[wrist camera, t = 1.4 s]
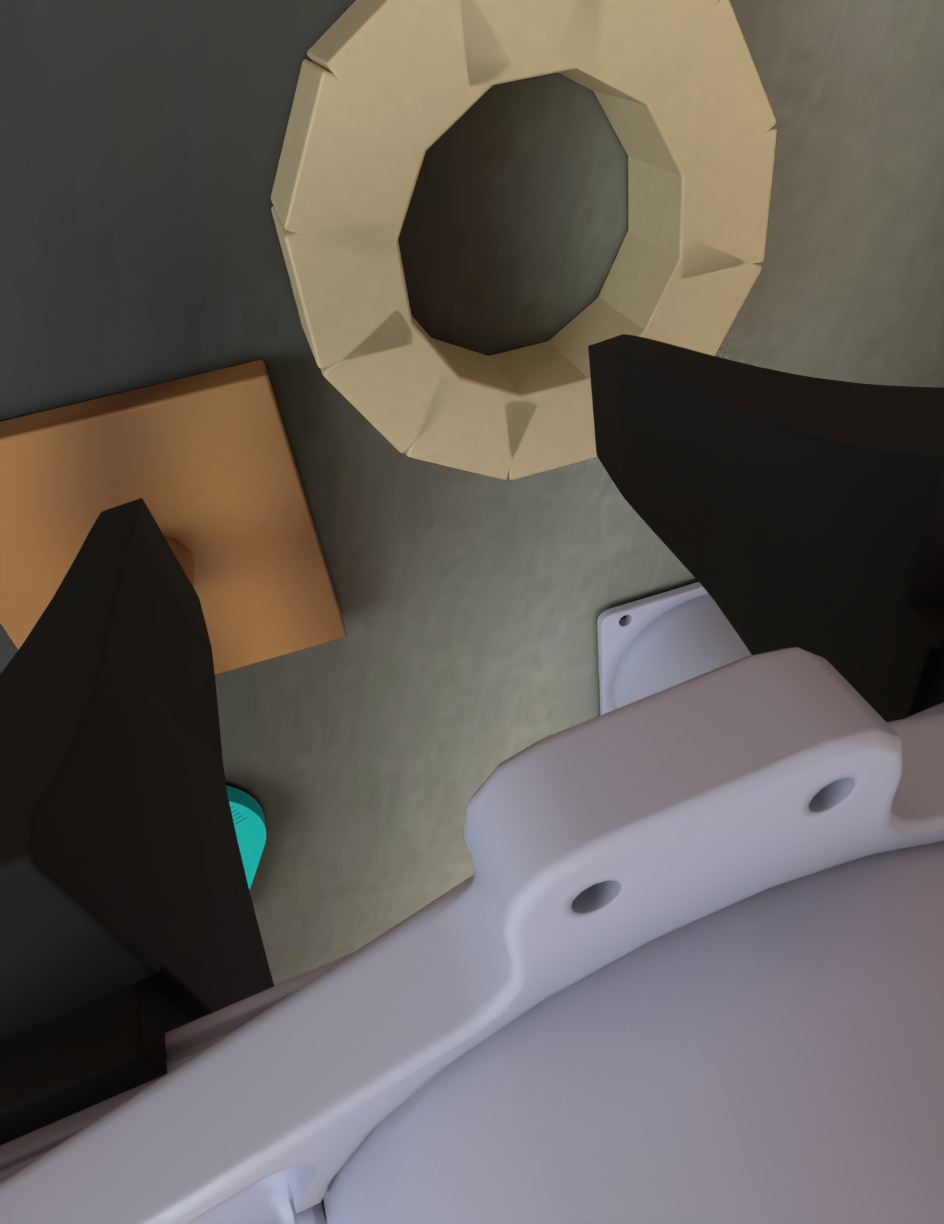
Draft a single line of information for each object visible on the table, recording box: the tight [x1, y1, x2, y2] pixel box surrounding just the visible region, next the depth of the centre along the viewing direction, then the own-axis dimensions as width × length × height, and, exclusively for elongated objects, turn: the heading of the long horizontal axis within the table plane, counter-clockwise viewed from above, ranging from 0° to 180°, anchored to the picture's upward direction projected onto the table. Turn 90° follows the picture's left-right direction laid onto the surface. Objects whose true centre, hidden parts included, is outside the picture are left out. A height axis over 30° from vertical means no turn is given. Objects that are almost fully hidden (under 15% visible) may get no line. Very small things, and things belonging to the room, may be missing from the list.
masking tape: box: [271, 0, 777, 480], centre depth 20 cm, size 12×12×3 cm
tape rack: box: [0, 360, 347, 675], centre depth 21 cm, size 9×9×6 cm
